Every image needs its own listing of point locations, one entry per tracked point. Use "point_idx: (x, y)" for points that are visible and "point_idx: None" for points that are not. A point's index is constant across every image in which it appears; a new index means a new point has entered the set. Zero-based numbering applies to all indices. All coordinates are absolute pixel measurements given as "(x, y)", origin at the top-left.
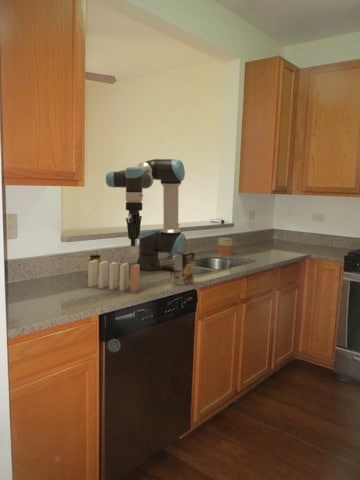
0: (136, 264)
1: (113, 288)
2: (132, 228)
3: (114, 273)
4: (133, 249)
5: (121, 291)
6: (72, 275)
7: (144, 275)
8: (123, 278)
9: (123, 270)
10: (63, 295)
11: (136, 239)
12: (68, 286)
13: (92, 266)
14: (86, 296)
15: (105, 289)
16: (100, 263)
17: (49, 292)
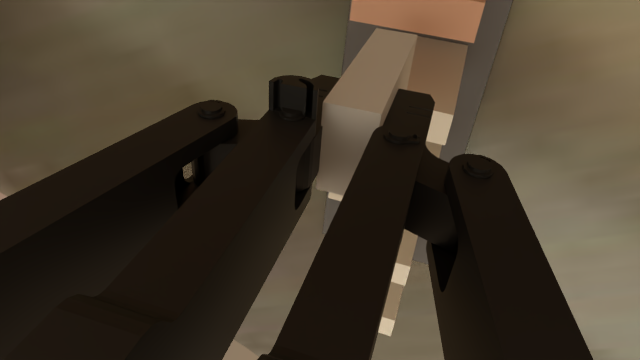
0: (373, 9)
1: None
2: (589, 357)
3: None
4: (403, 88)
5: (486, 50)
6: None
7: (66, 15)
8: (456, 72)
9: (454, 96)
10: (579, 302)
11: (364, 109)
12: (411, 303)
13: (388, 295)
14: (594, 211)
15: (455, 149)
16: (408, 273)
17: None
